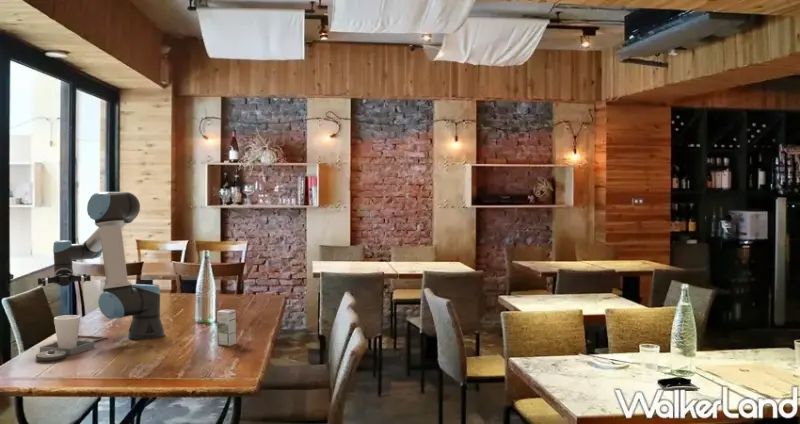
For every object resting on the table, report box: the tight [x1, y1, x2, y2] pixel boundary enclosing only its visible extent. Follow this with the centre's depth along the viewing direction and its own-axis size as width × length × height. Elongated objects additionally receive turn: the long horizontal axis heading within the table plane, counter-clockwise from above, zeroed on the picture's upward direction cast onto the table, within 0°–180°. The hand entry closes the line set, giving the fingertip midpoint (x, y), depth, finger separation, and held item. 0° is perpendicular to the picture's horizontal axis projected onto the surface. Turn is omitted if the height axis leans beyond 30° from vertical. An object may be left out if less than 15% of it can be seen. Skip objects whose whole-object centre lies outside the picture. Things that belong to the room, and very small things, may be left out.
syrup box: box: [216, 308, 237, 347], centre depth 296 cm, size 6×6×14 cm
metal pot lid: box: [35, 349, 67, 364], centre depth 270 cm, size 11×11×4 cm
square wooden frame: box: [53, 334, 109, 344], centre depth 301 cm, size 15×15×1 cm
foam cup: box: [53, 314, 81, 349], centre depth 284 cm, size 10×9×13 cm
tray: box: [39, 339, 95, 357], centre depth 284 cm, size 14×14×3 cm
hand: (64, 281), depth 291 cm, fingers open, 13 cm apart
